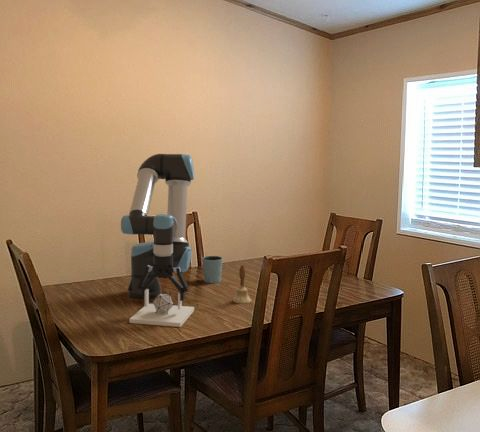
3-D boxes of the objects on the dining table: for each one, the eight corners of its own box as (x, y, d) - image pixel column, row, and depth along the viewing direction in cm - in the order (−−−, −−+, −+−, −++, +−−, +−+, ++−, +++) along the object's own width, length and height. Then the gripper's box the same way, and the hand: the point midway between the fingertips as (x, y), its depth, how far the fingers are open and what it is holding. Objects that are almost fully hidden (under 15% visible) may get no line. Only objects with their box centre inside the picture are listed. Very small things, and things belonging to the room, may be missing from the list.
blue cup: (226, 280, 257) (226, 257, 255) (214, 285, 248) (215, 260, 247) (209, 277, 262) (210, 254, 260) (198, 281, 254) (198, 258, 252)
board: (194, 310, 209) (194, 306, 208) (180, 327, 189) (180, 323, 189) (147, 306, 212) (147, 303, 212) (129, 322, 192) (129, 319, 192)
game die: (167, 320, 202) (183, 300, 202) (158, 319, 194) (174, 298, 194) (152, 306, 205) (167, 287, 205) (142, 305, 197) (158, 284, 197)
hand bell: (245, 304, 218) (246, 268, 216) (229, 301, 222) (229, 265, 220) (255, 300, 225) (255, 264, 223) (239, 296, 229) (239, 262, 227)
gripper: (196, 254, 199) (196, 306, 202) (136, 250, 203) (136, 302, 206) (191, 258, 192) (191, 312, 194) (129, 254, 196) (129, 307, 198)
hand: (163, 307), depth 200 cm, fingers open, 13 cm apart
